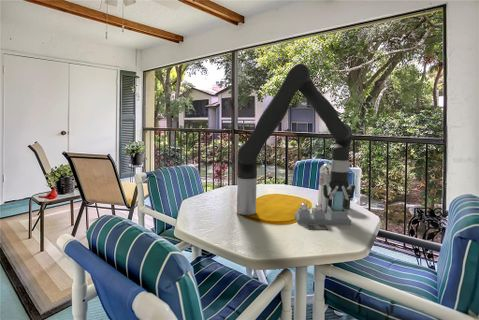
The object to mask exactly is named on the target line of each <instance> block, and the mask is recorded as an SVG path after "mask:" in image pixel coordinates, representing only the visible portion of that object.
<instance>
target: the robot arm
mask: <svg viewBox="0 0 479 320" xmlns="http://www.w3.org/2000/svg"><path fill="white" fill-rule="evenodd" d="M297 92H299V93H300V94H301V95H303V97H304V98H305V99H306V100H307V101H308V103H309V104H310V105H311V107H312V108H313V110H314V111H315V112H316V114H317V115H318V116H319V118H320V120H322V122H323V124H324V125H325V127H326V129H327V130H328V132H329V134H330V135H331V136H332V137H333V139H335V142H334V146H333V148H332V152H331V162H330V165H331V174H330V182H329V184H323V194H324V197H325V198H328V206H329V207H332V202H333V198H332V197H333V195H334V194H335V192H336V191H343V193H344V194H343V196H344V201H343V207H344V208H346V206H348V199H350V200H351V199H353V198H354V194H355V190H356V186H355V184H353V183H351V184H350V183H349V176H350V175H349V171H350V148H351V143H352V137H353V130H352V127H351V126H350V125H349V124H346V123H344V122H343V120H342V119H341V118H340V117H339V115H340V114H339V112H338V111H337V110H336V109H335V107H334V106H333V105H332V104H331V102H330V101H329V100H328V99H327V98H326V97H325V96H324V95H323V94H322V93H321V92H320V91H319V90H318V88H317V87H316V86H315V83H314V81H313V80H312V78H311V74H310V70H309V68H308V67H307V65H306V64H304V63H297V64H295V65H293V66H292V67H291V68H290V69H289V71H288V72H287V75H286V77H285V78H284V80H283V82H282V84H281V86H280V88H279V89H278V90H277V92H276V93H275V94H274V95H273V97H272V98H271V100H270V101H269V103H268V105H267V106H266V108H265V109H264V111H263V112H262V114H260V117H259V118H258V120H257V122H256V125H255V126H254V129H253V131H252V132H251V133H252V134H251V135H250V136H249V137H248V139H247V140H246V141H245V142H244V143H242V144H241V145H240V146H239V148H238V150H237V171H236V172H237V177H236V180H237V181H236V182H237V183H236V186H237V189H236V214H237V215H238V214H239V215H243V216H250V215H252V216H253V215H255V214H256V213H257V190H258V189H257V187H258V186H257V184H258V183H257V182H258V181H257V180H258V178H257V177H258V176H257V175H258V170H257V168H258V165H257V164H258V160H257V159H258V157H259V154H260V152H262V151H261V150H262V149H263V148H264V145H265V144H266V142H267V141H268V140H269V139H270V137H271V136H272V135H273V133H274V132H275V131H276V129H277V128H278V127H279V126H280V124H281V122H282V121H283V120H284V119H285V116H286V114H287V112H288V110H289V108H290V105H291V103H292V100H293V98H294V97H295V94H296V93H297ZM329 186H330V188H331V190H330V193H329V195H328V194H327V189H328V187H329ZM348 187H349V189H350V190H349V194H348V195H347V192H346V189H347V188H348Z"/></svg>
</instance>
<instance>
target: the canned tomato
mask: <svg viewBox="0 0 479 320" xmlns="http://www.w3.org/2000/svg"><path fill="white" fill-rule="evenodd" d="M349 190H350V189H349V187H348V188H347V189H346V192H347V195H348V194H349ZM343 201H344V196H343ZM343 208H344V207H343ZM344 209H345V210H346V211H349V210H350V209H351V198H350V199H348V206H346V208H344Z"/></svg>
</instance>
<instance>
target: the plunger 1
mask: <svg viewBox="0 0 479 320" xmlns="http://www.w3.org/2000/svg"><path fill="white" fill-rule="evenodd" d="M300 208H301V210H307V208H308V203H305V202H301V203H300Z"/></svg>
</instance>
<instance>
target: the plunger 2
mask: <svg viewBox="0 0 479 320" xmlns="http://www.w3.org/2000/svg"><path fill="white" fill-rule="evenodd" d="M314 206H315V207H314V208H315V211H322V204H319V203H318V202H317V203H315V205H314Z"/></svg>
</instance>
